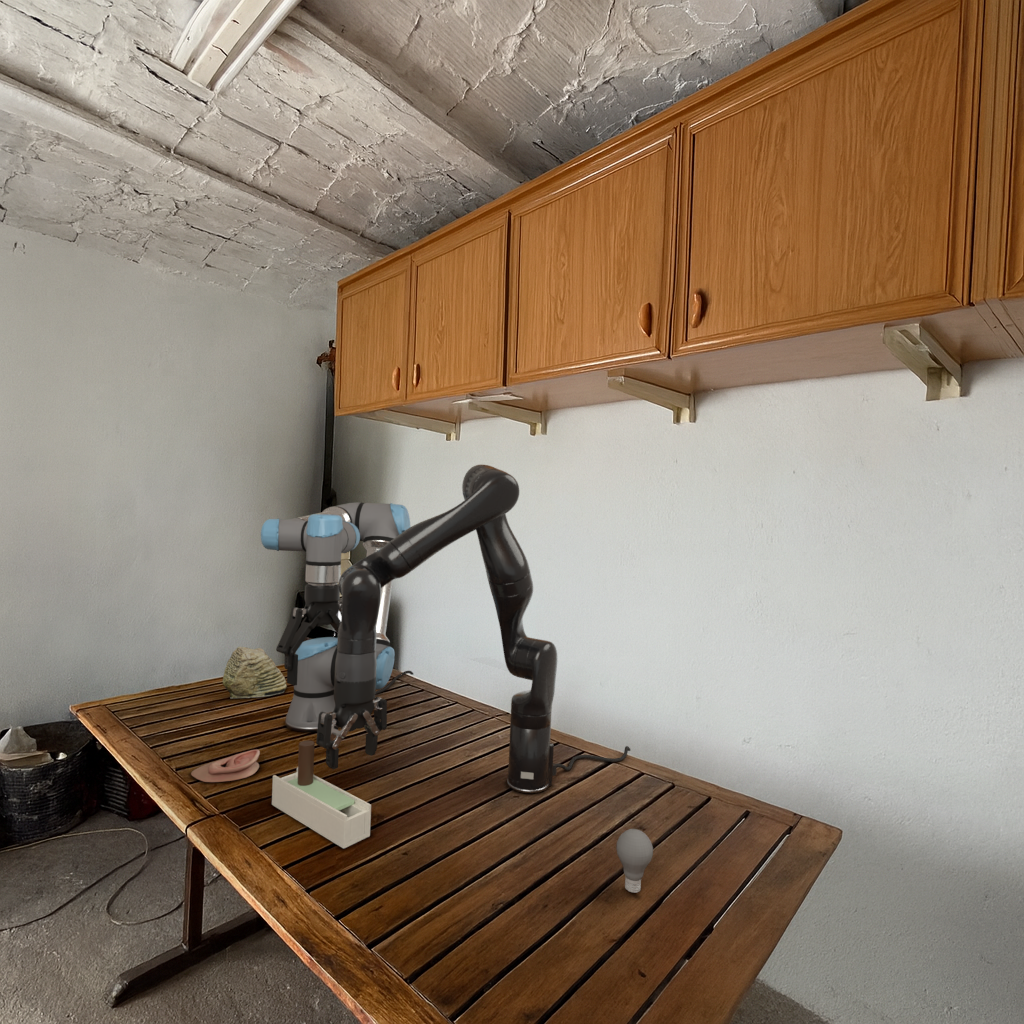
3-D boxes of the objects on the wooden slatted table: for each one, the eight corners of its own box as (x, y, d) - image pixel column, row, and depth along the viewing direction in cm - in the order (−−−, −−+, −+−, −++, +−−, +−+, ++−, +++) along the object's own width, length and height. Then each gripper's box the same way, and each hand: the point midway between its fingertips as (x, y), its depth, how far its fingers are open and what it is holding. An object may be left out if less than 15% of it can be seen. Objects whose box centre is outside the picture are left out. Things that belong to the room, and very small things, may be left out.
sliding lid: (286, 785, 128) (288, 742, 127) (306, 778, 131) (307, 736, 131) (335, 812, 118) (336, 765, 117) (354, 804, 121) (356, 758, 121)
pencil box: (271, 804, 130) (272, 775, 129) (297, 794, 134) (298, 766, 134) (343, 848, 115) (344, 816, 114) (370, 836, 119) (371, 804, 119)
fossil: (218, 695, 195) (220, 647, 195) (278, 685, 208) (279, 640, 207) (228, 703, 189) (230, 653, 188) (289, 692, 201) (290, 645, 201)
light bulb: (610, 879, 108) (613, 822, 108) (644, 879, 109) (647, 822, 109) (619, 902, 102) (622, 840, 102) (655, 901, 103) (658, 840, 103)
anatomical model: (182, 760, 139) (216, 741, 150) (181, 778, 139) (216, 758, 150) (236, 768, 136) (267, 748, 147) (235, 786, 136) (266, 765, 147)
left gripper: (357, 577, 153) (354, 664, 154) (261, 585, 134) (258, 685, 134) (377, 581, 149) (374, 671, 149) (281, 590, 129) (277, 693, 130)
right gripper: (372, 664, 126) (369, 745, 126) (310, 677, 115) (306, 766, 115) (398, 671, 121) (394, 755, 121) (335, 686, 110) (331, 779, 110)
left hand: (319, 678), depth 142 cm, fingers open, 13 cm apart
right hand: (351, 760), depth 118 cm, fingers open, 8 cm apart
